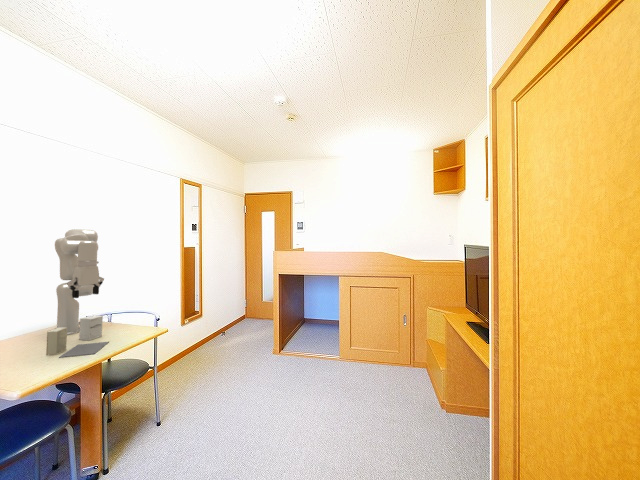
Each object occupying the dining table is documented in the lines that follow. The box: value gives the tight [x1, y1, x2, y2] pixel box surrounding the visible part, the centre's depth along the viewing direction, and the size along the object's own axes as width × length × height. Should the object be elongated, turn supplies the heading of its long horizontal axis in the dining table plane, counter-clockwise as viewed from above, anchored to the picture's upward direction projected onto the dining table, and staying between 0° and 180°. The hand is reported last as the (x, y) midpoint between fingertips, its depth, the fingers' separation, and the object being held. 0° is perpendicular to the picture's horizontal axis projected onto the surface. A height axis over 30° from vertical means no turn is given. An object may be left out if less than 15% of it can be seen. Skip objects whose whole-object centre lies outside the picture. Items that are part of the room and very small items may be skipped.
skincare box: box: [45, 327, 68, 356], centre depth 126 cm, size 6×4×12 cm
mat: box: [58, 341, 110, 359], centre depth 130 cm, size 16×14×1 cm
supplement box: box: [78, 314, 103, 342], centre depth 146 cm, size 7×7×13 cm
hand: (85, 295), depth 130 cm, fingers open, 9 cm apart
